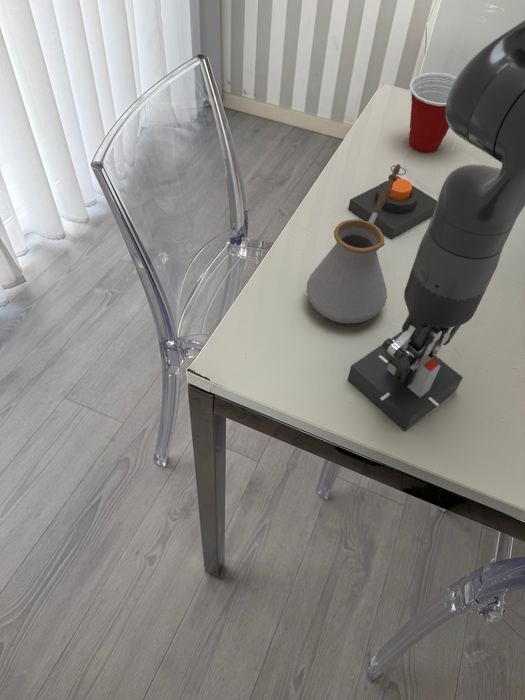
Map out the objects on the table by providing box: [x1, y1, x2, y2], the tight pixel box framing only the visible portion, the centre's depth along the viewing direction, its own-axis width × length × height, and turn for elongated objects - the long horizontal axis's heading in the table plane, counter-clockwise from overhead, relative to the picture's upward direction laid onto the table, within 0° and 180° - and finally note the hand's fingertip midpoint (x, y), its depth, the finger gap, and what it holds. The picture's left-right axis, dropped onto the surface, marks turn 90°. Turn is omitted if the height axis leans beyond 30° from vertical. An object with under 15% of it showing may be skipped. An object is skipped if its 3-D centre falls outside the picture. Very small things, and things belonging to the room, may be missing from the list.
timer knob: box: [387, 351, 440, 397], centre depth 69 cm, size 6×2×5 cm, turn 39°
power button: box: [388, 177, 413, 201], centre depth 94 cm, size 4×4×2 cm
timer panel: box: [347, 331, 463, 432], centre depth 72 cm, size 11×11×3 cm
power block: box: [347, 175, 438, 240], centre depth 96 cm, size 12×10×4 cm
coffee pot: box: [306, 163, 407, 324], centre depth 80 cm, size 21×12×15 cm, turn 153°
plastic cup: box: [408, 72, 457, 154], centre depth 107 cm, size 11×11×12 cm
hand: (409, 375), depth 70 cm, fingers closed
